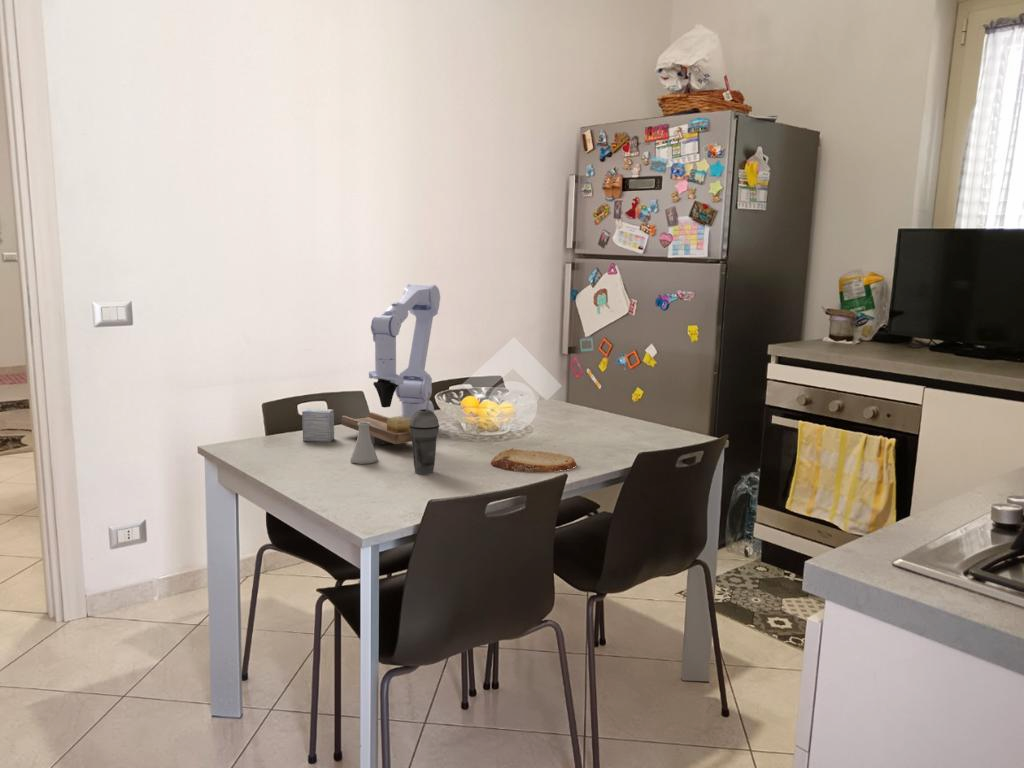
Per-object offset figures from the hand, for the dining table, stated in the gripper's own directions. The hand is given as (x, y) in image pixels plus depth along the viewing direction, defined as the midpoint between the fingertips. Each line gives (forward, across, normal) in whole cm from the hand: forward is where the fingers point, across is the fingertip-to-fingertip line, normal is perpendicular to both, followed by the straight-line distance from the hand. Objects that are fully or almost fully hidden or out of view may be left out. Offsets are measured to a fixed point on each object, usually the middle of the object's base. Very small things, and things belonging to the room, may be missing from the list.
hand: (386, 406), depth 224 cm
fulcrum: (+10, 0, 0) cm, 10 cm away
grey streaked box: (+11, -14, -13) cm, 22 cm away
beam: (+7, 0, 0) cm, 7 cm away
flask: (+10, +14, -15) cm, 23 cm away
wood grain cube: (+6, +7, 0) cm, 9 cm away
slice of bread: (+11, +43, +16) cm, 47 cm away
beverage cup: (+10, +32, -10) cm, 35 cm away
